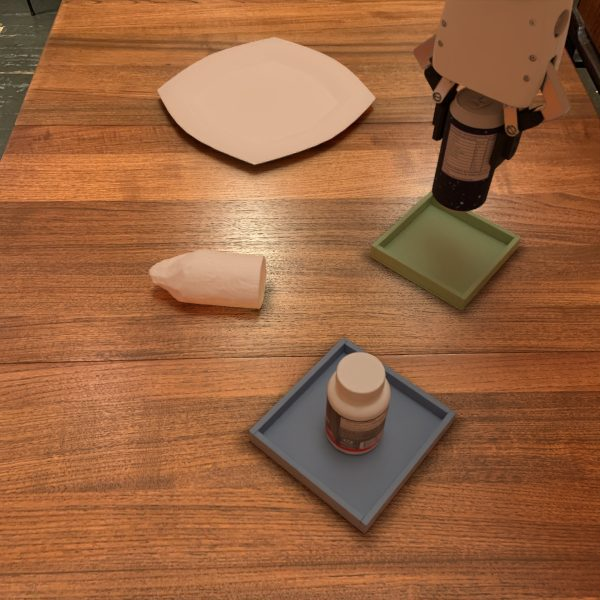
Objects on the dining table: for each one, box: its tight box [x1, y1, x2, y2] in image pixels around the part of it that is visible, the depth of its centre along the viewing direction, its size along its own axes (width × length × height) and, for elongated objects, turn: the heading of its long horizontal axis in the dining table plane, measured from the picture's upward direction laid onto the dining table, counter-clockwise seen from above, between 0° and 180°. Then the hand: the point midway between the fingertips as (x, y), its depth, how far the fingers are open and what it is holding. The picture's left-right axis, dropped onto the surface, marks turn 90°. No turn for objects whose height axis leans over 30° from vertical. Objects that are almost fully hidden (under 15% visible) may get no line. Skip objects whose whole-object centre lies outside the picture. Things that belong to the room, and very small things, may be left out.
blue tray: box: [248, 336, 457, 535], centre depth 60 cm, size 13×14×2 cm
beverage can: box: [431, 87, 505, 213], centre depth 64 cm, size 6×6×12 cm
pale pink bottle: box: [148, 249, 267, 310], centre depth 69 cm, size 6×12×6 cm, turn 84°
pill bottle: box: [325, 352, 391, 455], centre depth 57 cm, size 5×5×10 cm
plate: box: [156, 36, 377, 166], centre depth 93 cm, size 27×27×2 cm
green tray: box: [369, 190, 522, 312], centre depth 75 cm, size 12×12×2 cm
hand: (471, 145), depth 64 cm, fingers closed on beverage can, 5 cm apart
